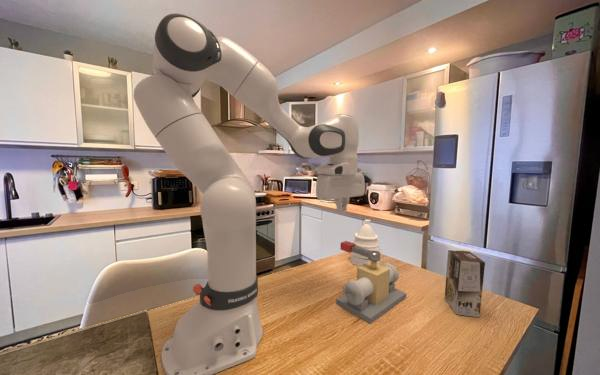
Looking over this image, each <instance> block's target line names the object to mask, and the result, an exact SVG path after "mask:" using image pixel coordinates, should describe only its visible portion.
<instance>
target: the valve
mask: <svg viewBox="0 0 600 375" xmlns="http://www.w3.org/2000/svg"><path fill="white" fill-rule="evenodd" d="M356 267H357V268H356V280H355V279H352V280H349V281H347V282H346V283H345V284H344V286H343V292H344V294H342V295H341V296H339V297H337V298H336V299H335V304H336V305H338V306H340V307H341V308H342V309H345V310H346V311H348V312H349V313H351V314H353V315H354V316H356V317H358V318H360V319H361V320H362V321H364V322H366V323H368V324H370V325H371V324H372V323H373V322H375V321H376V320H378V319H379V318H380V317H381V316H383V315H384V314H386V313H387V312H388V311H390V310H391V309H392V308H394V307H395V306H397V305H398V304H400V303H401V302H402V301H403V300H405V299H406V298H407V293H406V292H404V291H403V290H400V289H397V288H395V287H396V284H395V283H396V282H397V281H399V278H400V277H399V276H400V275H399V274H400V273H399V271H398V269H397V268H396V266H394V265H393V264H392V263H388V262H387V263H383V264H382V265H378V264H377V261H371V262H368V263H366V264H364V265H362V266H356Z"/></svg>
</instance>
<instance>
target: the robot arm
mask: <svg viewBox="0 0 600 375" xmlns="http://www.w3.org/2000/svg"><path fill="white" fill-rule="evenodd" d="M205 81H206V82H210V83H213V84H216V85H218V86H219V87H222V88H223V89H224V90H225V92H227V93H228V94H229V95H230V96H232V97H233V98H234V99H236V101H238V102H239V103H241V104H242V105H243V106H245V107H246V108H247V109H249V110H250V111H252V112H253V113H254V114H256V115H257V116H258V117H259V118H261V119H262V120H264V121H265V123H266V124H268V125H269V126H270V127H271V128H272V129H273V130H274V131H276V132H277V133H278V134H279V135H280V136H281V137H282V138H283V139H284V140H285V141H286V142H287V144H288V145H289V147H290V148H291V151H292V152H293V154H294V155H295V156H296V157H298V158H300V159H303V160H308V159H312V158H313V159H314V158H316V159H317V158H326V157H328V158H329V159H328V161H329V162H326V163H324V164H321V165H320V166H318V167H317V168H316V173H317V175H318V176H317V178H316V181H315V182H316V183H315V196H316V198H317V199H318V200H320V201H330V200H331V201H332V200H333V202H334V204H335V206H336V212H337V213H344V212H347V210H348V205H349V202H350V198H355V197H363V196H365V192H366V183H365V182H366V181H365V176H364V173H363V172H364V171H363V170H362V169H361V168H359V167H358V166H359V164H358V161H359V159H358V158H359V157H358V152H357V151H358V146H359V138H360V137H359V126H358V125H359V124H358V122H357V119H356V118H354V116H352V115H349V114H342V113H340V114H335V115H333V116H332V117H330V118H329V119H327V120H326V121H323V122H320V123H318V124H314V125H311V126H309V127H306V126H303V125H301V124H299V123H297V122H296V120H294V118H292V117H291V116H290V115H289V114H288V113H287V111H285V110H284V109H283V107H282V106H281V104H280V101H279V86H278V85H279V84H278V81H277V79H276V78H275V76H274V75H273V74H272V72H271V71H270V70H269V69H268V68H267V67H266V66H265V65H264V64H263V63H262V62H261V61H259V59H257V58H256V57H255V56H254V55H253V54H251V53H250V52H249V51H247V50H246V49H245V48H244V47H242V46H240V44H237V43H236V42H235V41H233V40H232V39H229V38H228V37H225V36H217V37H216V35H215V33H214V32H212V31H211V30H210V29H208V28H207V26H205V25H204V24H202V23H201V22H199V21H198V20H196V19H195V18H192V17H191V16H189V15H184V14H181V13H170V14H167V15H165V16H164V17H163V18H162V19H161V20H160V21H159V23H158V25H157V28H156V30H155V34H154V45H153V51H152V75H149V76H147V77H145V78H142V79H141V80H140V81H139V82H138V83H137V84H136V85H135V88H134V90H133V100H134V103H135V104H136V107H137V108H138V109H137V110H138V111H139V113H140V115H141V117H142V120H144V123H145V125H146V126H147V128H148V130H149V131H150V132H151V133H152V134H151V135H152V136H154V138H155V139H156V141H157V142H158V143H159V145H160V146H161V148H162V150H164V152H165V154H166V155H167V157H168V158H169V159H170V161H172V163H173V164H174V166H175V167H176V169H177V170H178V171H179V172H180V173H181V174H182V175H183V176H185V177H186V178H187V179H188V180H189V181H190V182H191V183H192V185H194V186H195V187H196V188H197V189H198V191H200V193H201V194H202V196H201V200H200V206H199V211H200V217H201V221H202V222H201V223H202V228H203V234H204V240H205V241H204V242H205V245H206V251H207V252H206V254H207V282H206V283H205V286H204V287H203V286H202V285H201V284H200V283H196V284H194V286H193V287H192V291H193V293H194V294H195V295H196V296H199V300H198V301H197V302H196V303H195V304H194V305H193V306H192V307H191V308H190V309H189V310H188V311H187V312H186V313H185V314H184V315H183V316H182V317H181V318H180V319H178V321H177V322H176V324H175V327H174V329H173V330H174V331H173V334H172V337H171V338H169V339H168V340H166V341H165V343H164V345H163V347H162V349H161V357H160V358H161V359H160V360H161V365H162V369H163V371H164V373H165V375H214V374H215V375H216V374H218V373H219V372H222V371H224V370H227V369H230V368H232V367H235V366H236V365H237V366H238V365H239V364H242V363H244V362H248V361H250V360H252V359H254V358H255V357H256V355H257V349H258V345H259V344H260V341H261V339H262V337H263V334H264V329H263V325H262V323H261V319H260V314H259V309H258V308H259V307H258V295H259V283H258V282H259V281H258V280H259V279H258V276H257V242H256V241H257V236H256V235H257V227H256V226H257V200H256V191H255V189H254V186H253V184H252V183H251V182H250V181H249V178H248V177H247V176H246V174H245V172H243V170H242V169H241V167H240V166H239V165H238V163H237V162H236V160H235V159H234V157H233V156H232V154H230V152H229V150H228V149H227V148H226V146H225V145H224V144H223V142H222V140H221V139H220V137H219V136H218V134H217V133H216V131H215V130H214V128H212V125H211V124H210V122H209V121H208V120H207V118H206V116H205V115H204V114H203V111H201V109H200V108H199V106H198V105H197V104H196V101H195V99H194V98H195V97H196V96H197V95H198V93H199V92H200V91H201V87H202V85H203V83H204V82H205Z"/></svg>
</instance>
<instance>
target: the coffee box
mask: <svg viewBox="0 0 600 375" xmlns="http://www.w3.org/2000/svg"><path fill="white" fill-rule="evenodd" d="M446 261H447V262H446V274H445V275H446V276H445V287H444V289H445V290H444V299H445V301H446V302H447V304H448V305H449V306H450V308H451V309H452V311H453V312H454V313H455V314H456V315H458V316H459V315H460V316H468V317H472V318H473V317H475V318H480V315H481V307H482V306H481V305H482V296H483V285H484V278H485V267H486V262H485V261H484V260H482V259H481V258H479V257H478V256H477V255H475V254H474V253H472V252H471V251H467V250H449V249H448V250H447V260H446Z"/></svg>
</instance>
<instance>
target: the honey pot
mask: <svg viewBox="0 0 600 375" xmlns="http://www.w3.org/2000/svg"><path fill="white" fill-rule="evenodd" d="M371 220H372V219H364V224H363V225H362V226H361V227H360V228H359V229H358V231H357V232H355V233H354V240H353V242H352V243H354V244H356V246H358V247H361V248H364V249H367V250H370V251H371V250H374V251H378V252H380V261H377V264H378V265H380V266H382V265H381V263H382V251H381V247H380V242H379V241H378V238H379V235H378V234H376V233H375V230H374V229H373V227H372V225H370V224H371ZM349 258H350V260H349V261H350V263H351V264H353V265H354V266H356V267H359V266H362V265H364V264H366V263H368V262H371V260H369V259H368V257H365V256H362V255H359V254H357V253H354V252H351V253H350V257H349Z"/></svg>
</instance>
